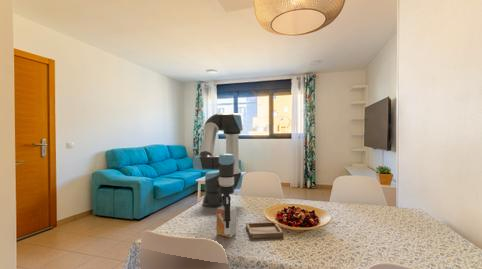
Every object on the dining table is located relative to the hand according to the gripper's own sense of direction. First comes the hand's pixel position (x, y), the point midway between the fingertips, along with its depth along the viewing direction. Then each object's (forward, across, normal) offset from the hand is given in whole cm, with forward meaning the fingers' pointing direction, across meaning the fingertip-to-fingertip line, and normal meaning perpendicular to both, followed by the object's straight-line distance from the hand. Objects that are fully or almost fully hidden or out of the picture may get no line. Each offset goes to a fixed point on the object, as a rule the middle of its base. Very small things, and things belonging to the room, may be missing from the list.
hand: (226, 229), depth 116 cm
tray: (+2, 0, +19) cm, 19 cm away
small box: (+2, 0, 0) cm, 2 cm away
